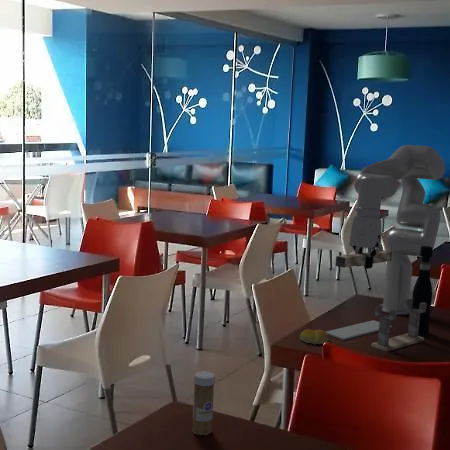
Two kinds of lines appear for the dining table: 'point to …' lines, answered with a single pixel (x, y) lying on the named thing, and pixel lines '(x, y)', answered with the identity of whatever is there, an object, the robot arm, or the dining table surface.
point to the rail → (362, 259)
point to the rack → (402, 340)
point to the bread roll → (314, 336)
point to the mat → (355, 330)
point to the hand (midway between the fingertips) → (364, 266)
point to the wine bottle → (423, 291)
